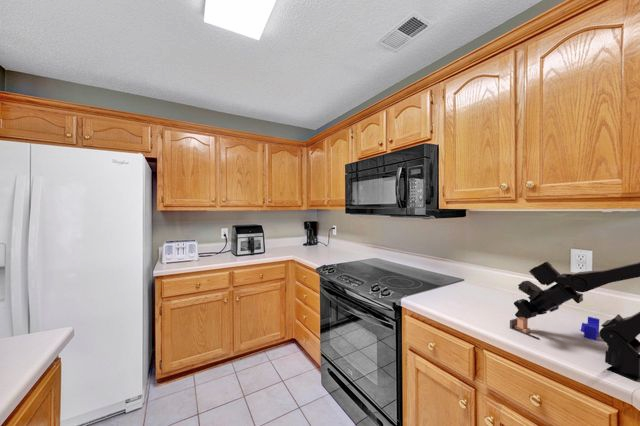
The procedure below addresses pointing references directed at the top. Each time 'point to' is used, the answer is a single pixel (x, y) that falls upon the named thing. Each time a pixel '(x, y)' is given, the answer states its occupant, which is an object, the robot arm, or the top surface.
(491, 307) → the top surface
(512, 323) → the grey block holder
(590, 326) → the cable clip
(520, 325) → the block
